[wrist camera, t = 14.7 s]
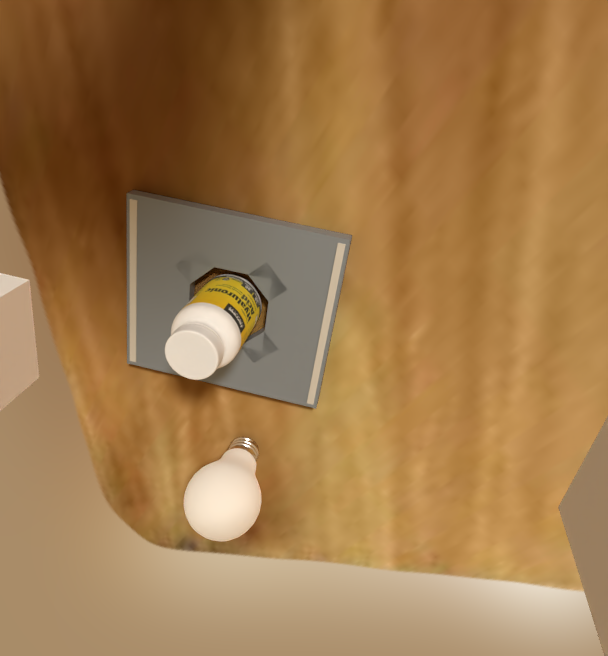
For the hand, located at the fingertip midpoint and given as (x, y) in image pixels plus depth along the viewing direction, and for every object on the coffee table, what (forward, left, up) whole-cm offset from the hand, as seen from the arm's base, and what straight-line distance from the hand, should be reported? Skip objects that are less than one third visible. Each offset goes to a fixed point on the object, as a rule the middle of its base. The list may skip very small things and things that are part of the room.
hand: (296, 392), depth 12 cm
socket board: (+14, -10, -30) cm, 35 cm away
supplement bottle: (+14, -10, -31) cm, 35 cm away
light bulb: (+29, -7, -31) cm, 42 cm away
